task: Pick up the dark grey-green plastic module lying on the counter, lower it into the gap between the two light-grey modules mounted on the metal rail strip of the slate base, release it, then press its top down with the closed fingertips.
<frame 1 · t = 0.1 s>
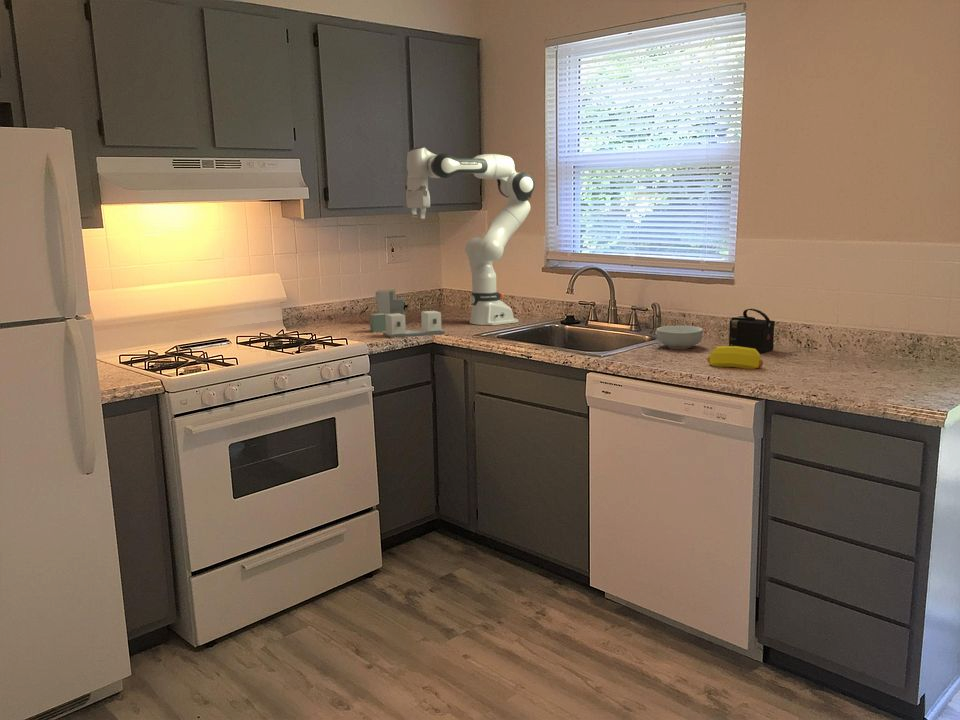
hand: (418, 218, 357), 48 cm above the worktop, tool pointing down, fingers open, 8 cm apart
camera: (750, 350, 300), on the worktop
rail base: (413, 334, 348), on the worktop
circuit breaker: (392, 323, 383), on the worktop
module: (379, 331, 359), on the worktop
yellow rounded bar: (734, 367, 271), on the worktop
cereal bowl: (679, 347, 307), on the worktop
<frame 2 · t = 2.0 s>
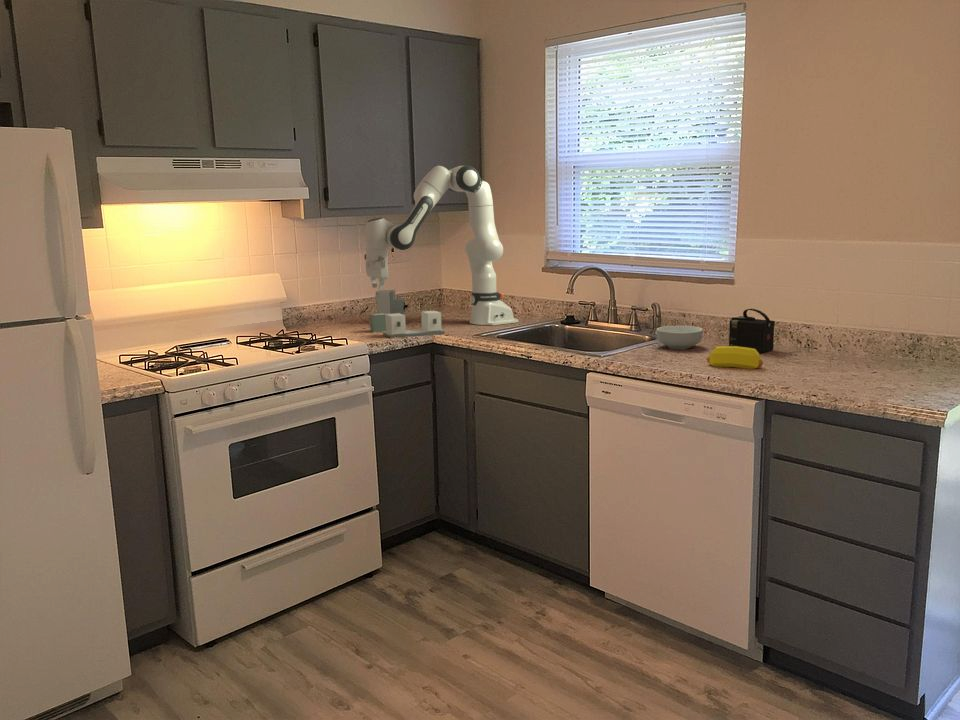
hand: (377, 288, 355), 19 cm above the worktop, tool pointing down, fingers open, 8 cm apart
nothing on the worktop moved.
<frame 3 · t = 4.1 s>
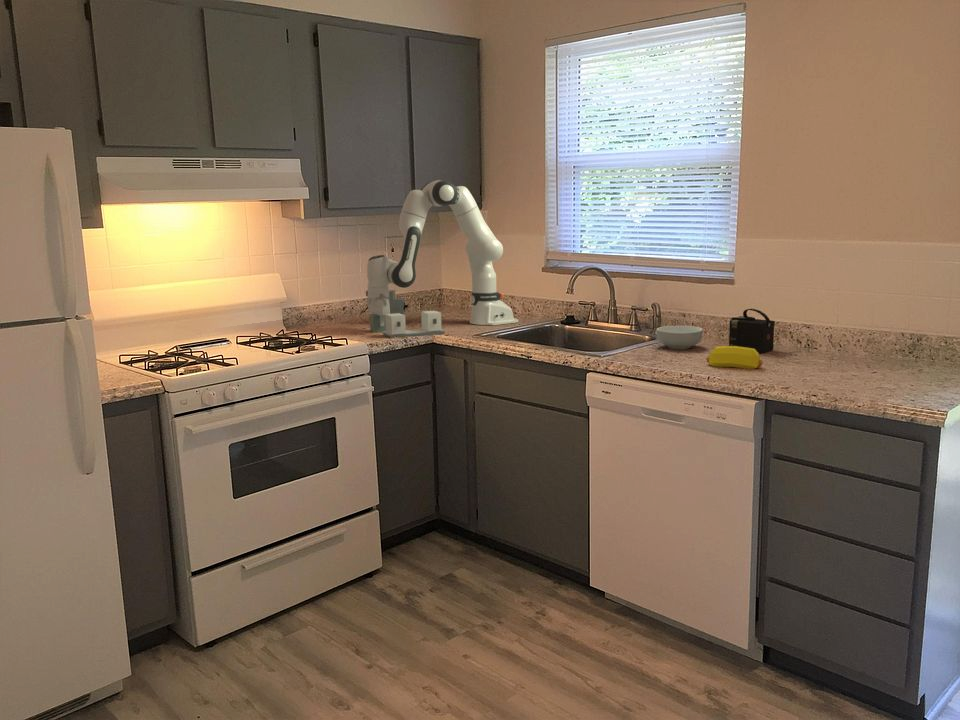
hand: (379, 325, 358), 3 cm above the worktop, tool pointing down, fingers closed on module, 5 cm apart
module: (379, 331, 359), on the worktop, touching gripper
everything else where it was.
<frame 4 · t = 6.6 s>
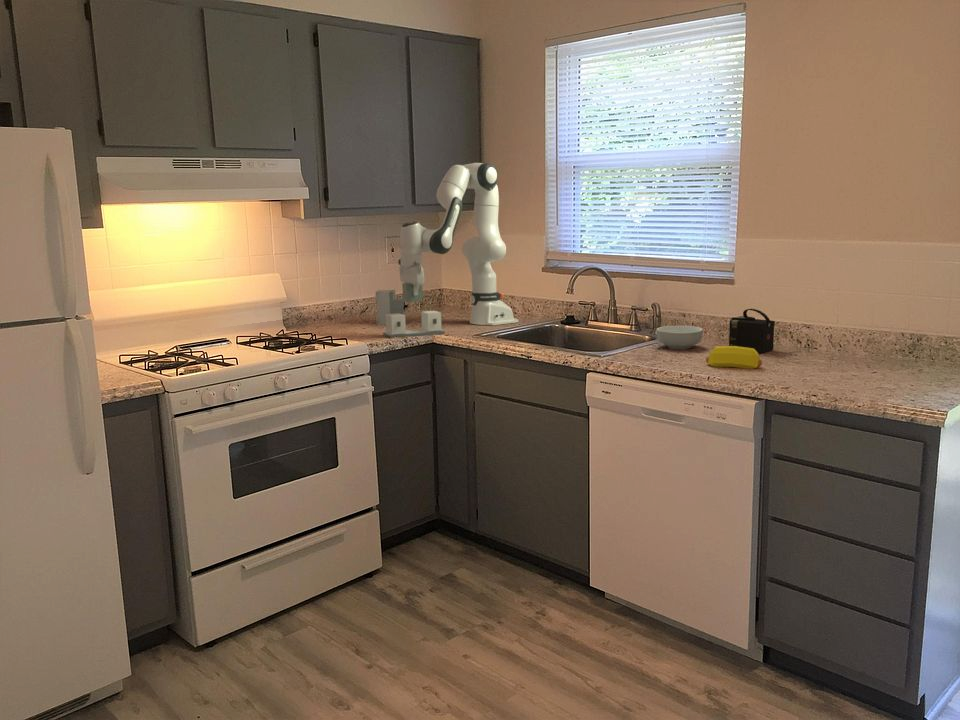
hand: (412, 294, 345), 17 cm above the worktop, tool pointing down, fingers closed on module, 5 cm apart
module: (412, 301, 346), point 14 cm above the worktop, touching gripper
everything else where it was.
when the fingers open (5 cm above the worktop, at t = 9.1 s): module drops 1 cm, resting on rail base.
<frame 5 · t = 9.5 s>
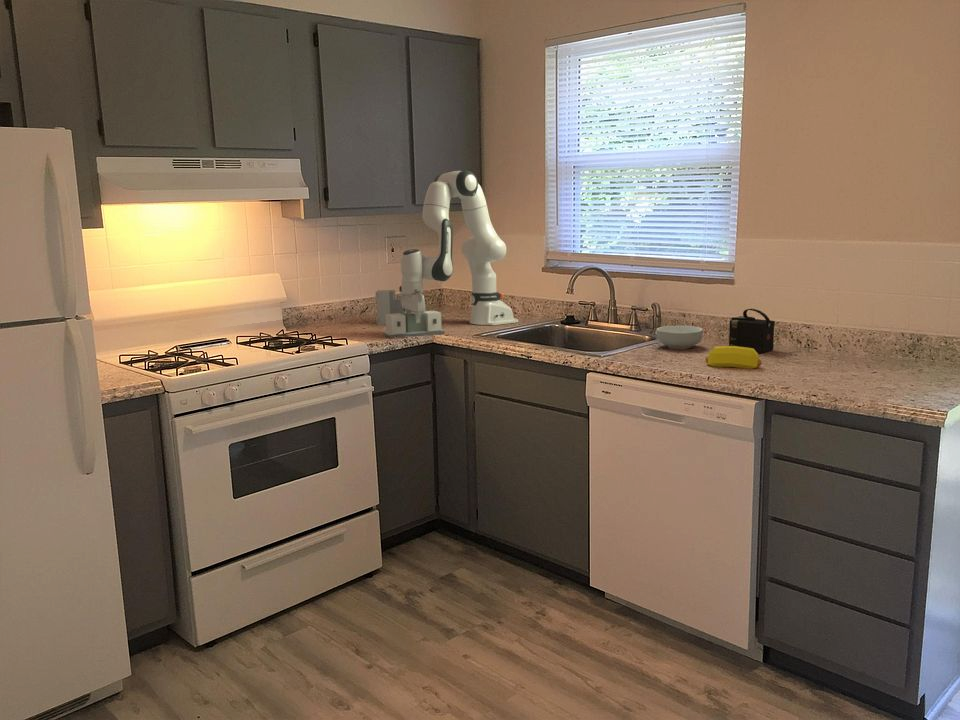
hand: (413, 321, 347), 5 cm above the worktop, tool pointing down, fingers open, 8 cm apart
module: (413, 331, 348), point 1 cm above the worktop, touching rail base
everything else where it was.
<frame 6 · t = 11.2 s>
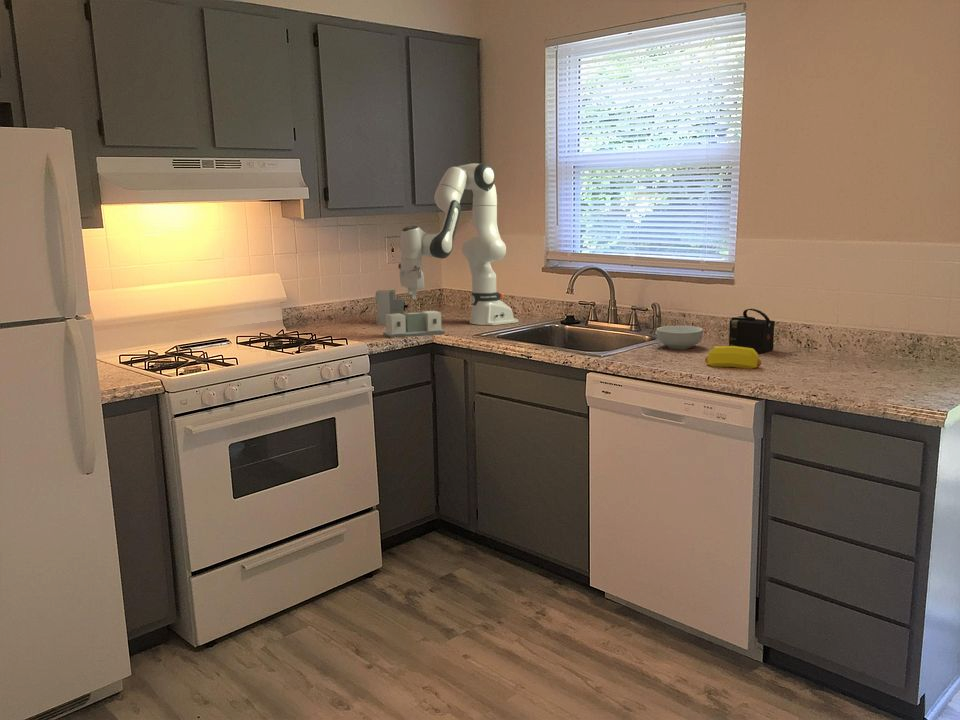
hand: (412, 298, 345), 15 cm above the worktop, tool pointing down, fingers closed
nothing on the worktop moved.
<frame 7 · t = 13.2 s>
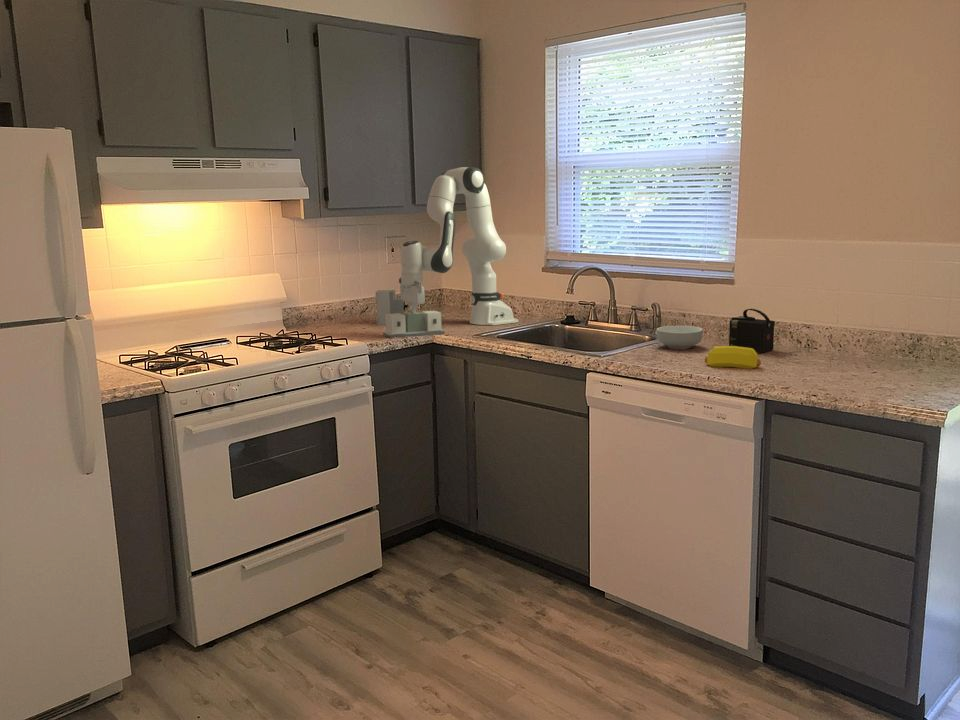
hand: (413, 313, 347), 9 cm above the worktop, tool pointing down, fingers closed, pressing on module
module: (413, 331, 348), point 1 cm above the worktop, touching gripper, rail base
everything else where it was.
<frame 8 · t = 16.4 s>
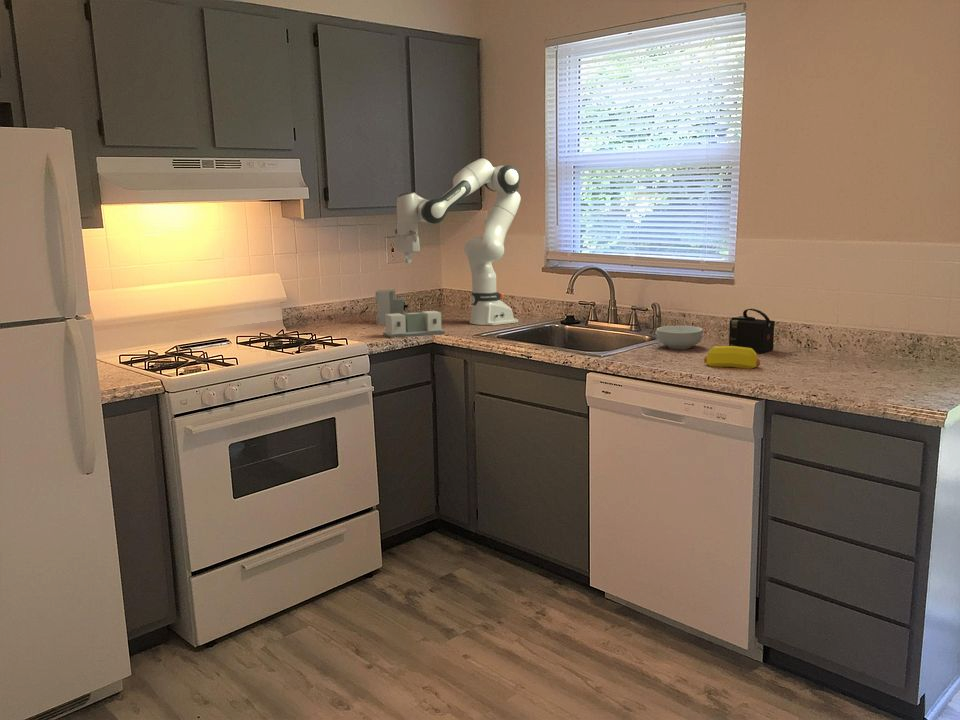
hand: (408, 262, 358), 29 cm above the worktop, tool pointing down, fingers closed
module: (413, 331, 348), point 1 cm above the worktop, touching rail base
everything else where it was.
at the end: module 0.0 cm off-centre on the rail base, point 1.4 cm above the rail base's base; module tilted 0°; the gripper is holding nothing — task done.
